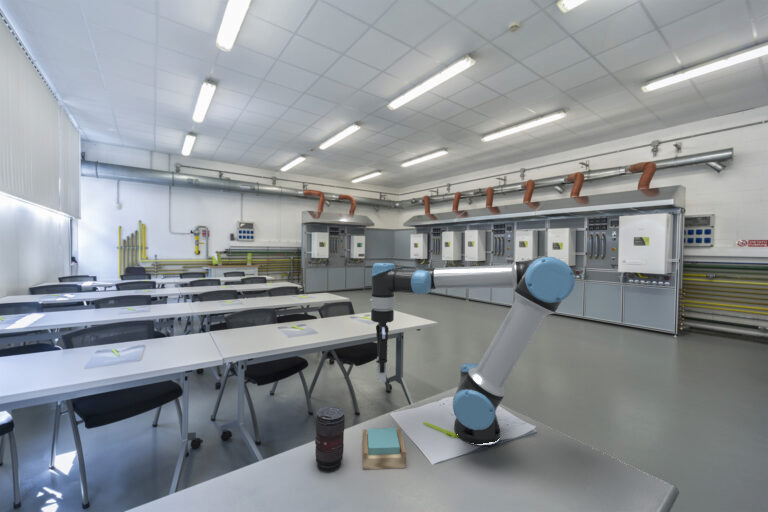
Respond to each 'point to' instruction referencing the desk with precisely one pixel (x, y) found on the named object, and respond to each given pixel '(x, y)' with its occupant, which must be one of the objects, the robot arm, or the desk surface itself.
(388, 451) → the cover plate
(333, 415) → the camera lens
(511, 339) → the robot arm
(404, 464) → the wooden channel tray
